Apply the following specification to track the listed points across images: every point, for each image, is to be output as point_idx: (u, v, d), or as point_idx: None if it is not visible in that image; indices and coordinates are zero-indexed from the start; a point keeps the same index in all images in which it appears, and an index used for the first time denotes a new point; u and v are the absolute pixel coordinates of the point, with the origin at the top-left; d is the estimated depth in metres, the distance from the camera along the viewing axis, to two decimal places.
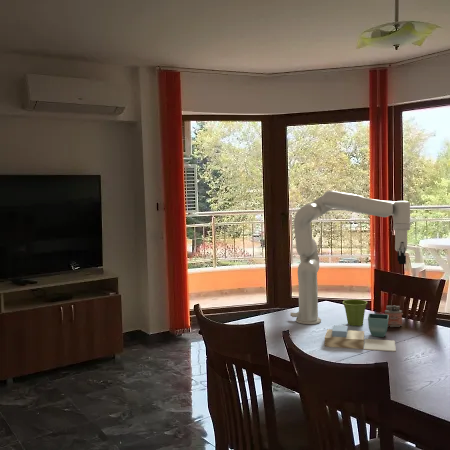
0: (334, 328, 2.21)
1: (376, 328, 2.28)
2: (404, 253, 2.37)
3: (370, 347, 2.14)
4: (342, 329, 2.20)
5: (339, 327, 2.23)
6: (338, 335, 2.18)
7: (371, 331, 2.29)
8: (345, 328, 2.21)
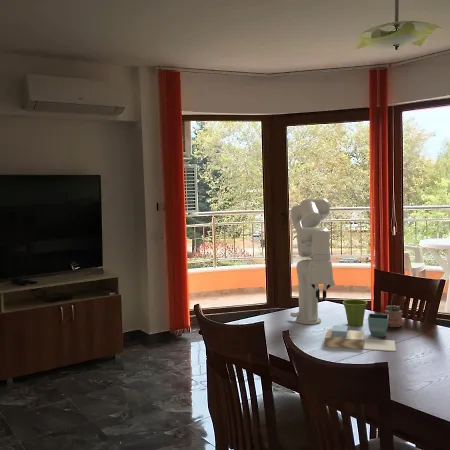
0: (334, 328, 2.21)
1: (376, 328, 2.28)
2: None
3: (370, 347, 2.14)
4: (342, 329, 2.20)
5: (339, 327, 2.23)
6: (338, 335, 2.18)
7: (371, 331, 2.29)
8: (345, 328, 2.21)
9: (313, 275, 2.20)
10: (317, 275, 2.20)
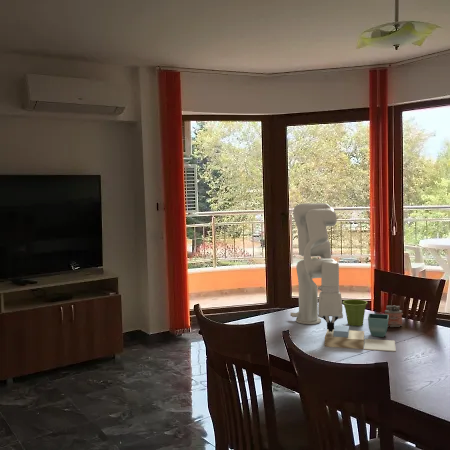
0: (335, 328, 2.21)
1: (376, 328, 2.28)
2: None
3: (370, 347, 2.14)
4: (343, 329, 2.20)
5: (340, 327, 2.23)
6: (339, 335, 2.17)
7: (371, 331, 2.29)
8: (346, 328, 2.21)
9: (323, 307, 2.20)
10: (327, 307, 2.20)
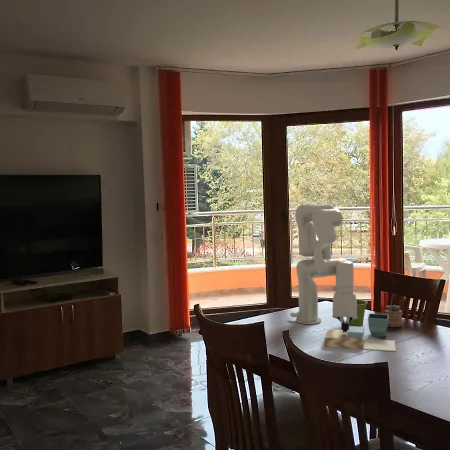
0: (349, 329, 2.19)
1: (376, 328, 2.28)
2: None
3: (370, 347, 2.14)
4: (358, 330, 2.18)
5: (355, 328, 2.21)
6: (354, 336, 2.15)
7: (371, 331, 2.29)
8: (361, 329, 2.19)
9: (337, 308, 2.19)
10: (341, 308, 2.18)
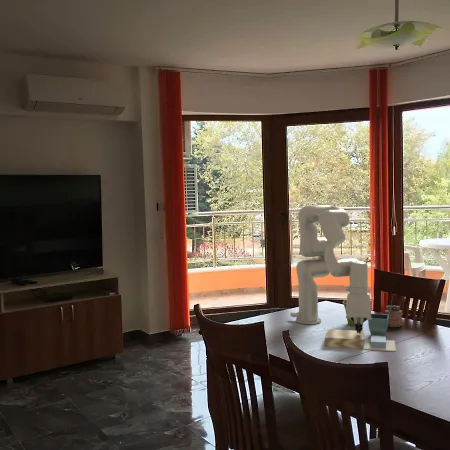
0: None
1: (376, 328, 2.28)
2: None
3: (370, 347, 2.14)
4: None
5: None
6: (379, 343, 2.13)
7: (371, 331, 2.29)
8: None
9: (351, 308, 2.17)
10: (355, 308, 2.16)
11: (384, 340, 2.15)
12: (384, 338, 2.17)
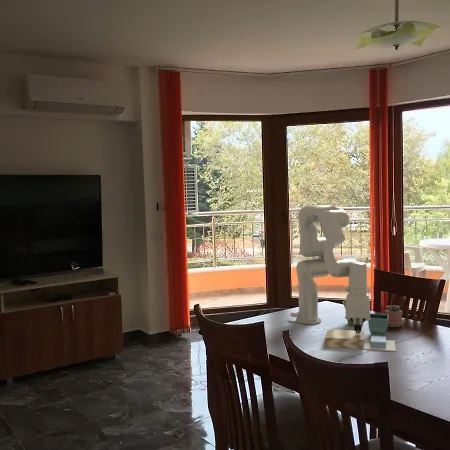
0: None
1: (376, 328, 2.28)
2: None
3: (370, 347, 2.14)
4: None
5: None
6: (379, 343, 2.13)
7: (371, 331, 2.29)
8: None
9: (350, 309, 2.17)
10: (354, 309, 2.17)
11: (384, 340, 2.15)
12: (384, 338, 2.17)
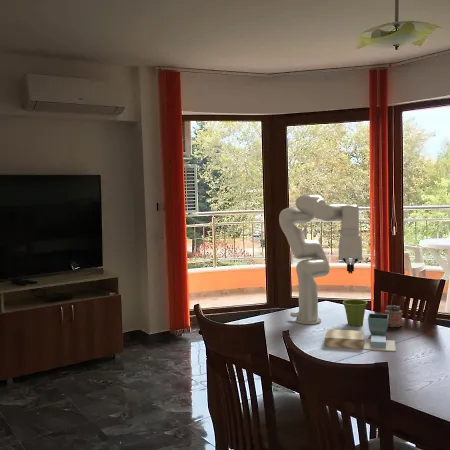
0: None
1: (376, 328, 2.28)
2: None
3: (370, 347, 2.14)
4: None
5: None
6: (379, 343, 2.13)
7: (371, 331, 2.29)
8: None
9: (343, 249, 2.27)
10: (347, 249, 2.26)
11: (384, 340, 2.15)
12: (384, 338, 2.17)
